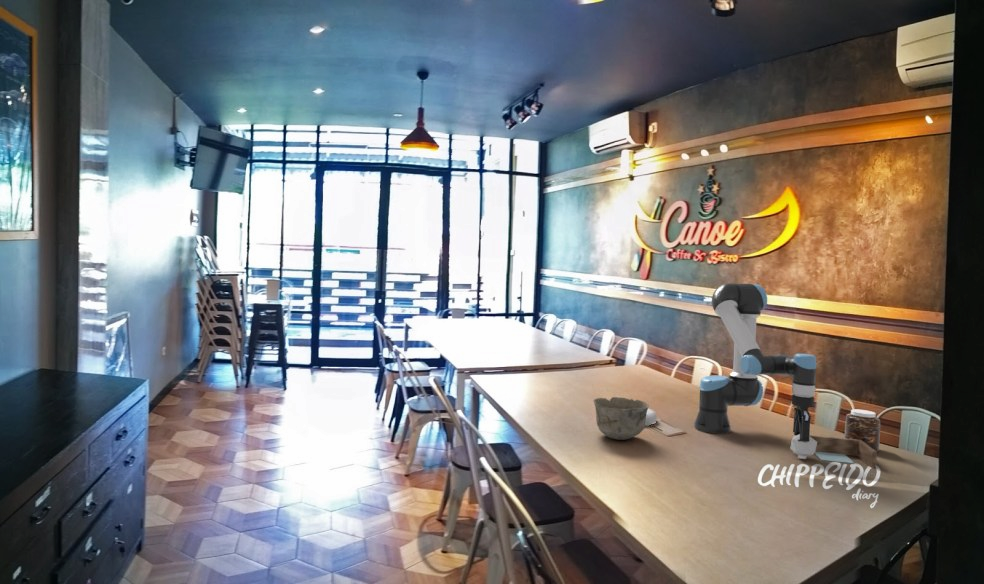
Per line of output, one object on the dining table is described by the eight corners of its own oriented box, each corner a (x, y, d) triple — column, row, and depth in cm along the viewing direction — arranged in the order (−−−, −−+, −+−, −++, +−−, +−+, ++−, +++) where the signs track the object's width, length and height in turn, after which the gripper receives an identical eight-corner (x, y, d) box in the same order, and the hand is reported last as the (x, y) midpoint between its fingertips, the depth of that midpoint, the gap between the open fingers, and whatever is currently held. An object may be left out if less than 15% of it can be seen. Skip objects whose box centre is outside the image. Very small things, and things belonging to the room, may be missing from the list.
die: (821, 462, 216) (822, 435, 216) (796, 461, 217) (797, 434, 216) (809, 455, 225) (810, 429, 225) (785, 454, 225) (786, 428, 225)
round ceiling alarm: (668, 421, 273) (669, 408, 273) (652, 433, 252) (652, 419, 252) (617, 413, 286) (617, 401, 286) (597, 423, 265) (598, 410, 265)
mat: (821, 460, 219) (821, 459, 219) (813, 452, 230) (813, 451, 230) (854, 463, 217) (854, 462, 217) (844, 455, 227) (844, 454, 227)
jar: (874, 446, 241) (875, 410, 241) (882, 454, 230) (884, 416, 230) (841, 442, 245) (843, 407, 244) (848, 450, 234) (850, 413, 233)
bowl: (651, 436, 246) (652, 400, 245) (641, 449, 226) (643, 410, 226) (599, 428, 255) (601, 394, 255) (586, 441, 235) (587, 403, 235)
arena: (814, 462, 217) (815, 445, 217) (803, 449, 233) (804, 434, 233) (875, 468, 212) (876, 451, 212) (860, 455, 228) (860, 439, 228)
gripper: (821, 401, 211) (817, 464, 212) (807, 391, 230) (804, 449, 231) (798, 399, 213) (795, 462, 214) (786, 389, 231) (783, 447, 232)
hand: (799, 455), depth 222 cm, fingers closed on die, 6 cm apart
